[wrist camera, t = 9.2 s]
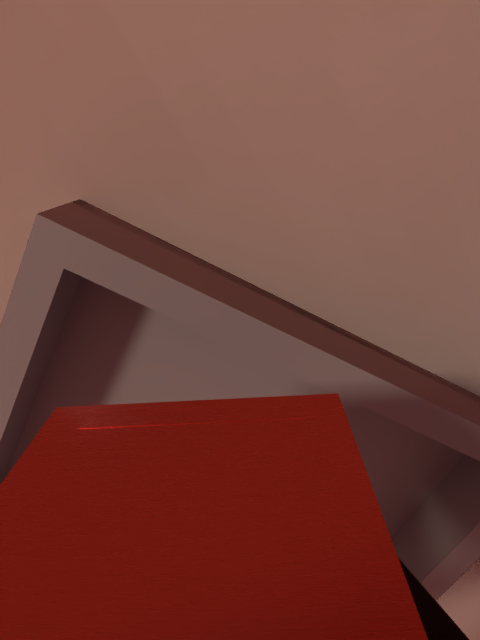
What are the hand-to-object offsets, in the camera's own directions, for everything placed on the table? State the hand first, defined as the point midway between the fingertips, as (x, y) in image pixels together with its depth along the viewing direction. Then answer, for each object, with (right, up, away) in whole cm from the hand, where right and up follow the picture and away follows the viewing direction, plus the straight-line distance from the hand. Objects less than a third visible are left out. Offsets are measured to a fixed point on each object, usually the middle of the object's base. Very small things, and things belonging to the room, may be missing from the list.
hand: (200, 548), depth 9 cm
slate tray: (0, -2, +11) cm, 11 cm away
